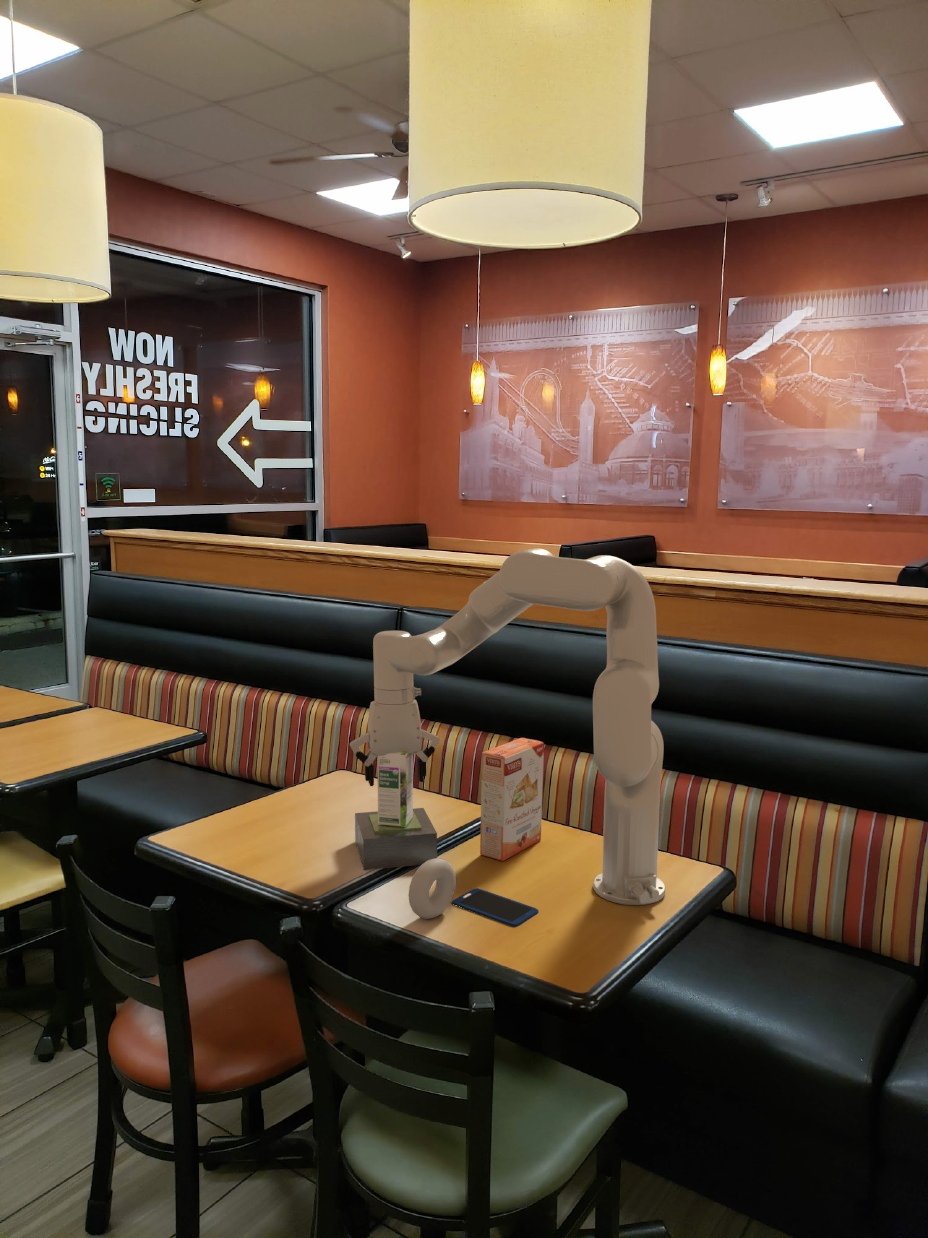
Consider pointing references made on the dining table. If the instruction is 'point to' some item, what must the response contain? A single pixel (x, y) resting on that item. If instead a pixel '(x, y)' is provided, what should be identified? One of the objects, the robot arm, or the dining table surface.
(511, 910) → the cell phone
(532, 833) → the cracker box
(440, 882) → the donut
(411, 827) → the stand
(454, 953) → the dining table surface
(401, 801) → the syrup box
